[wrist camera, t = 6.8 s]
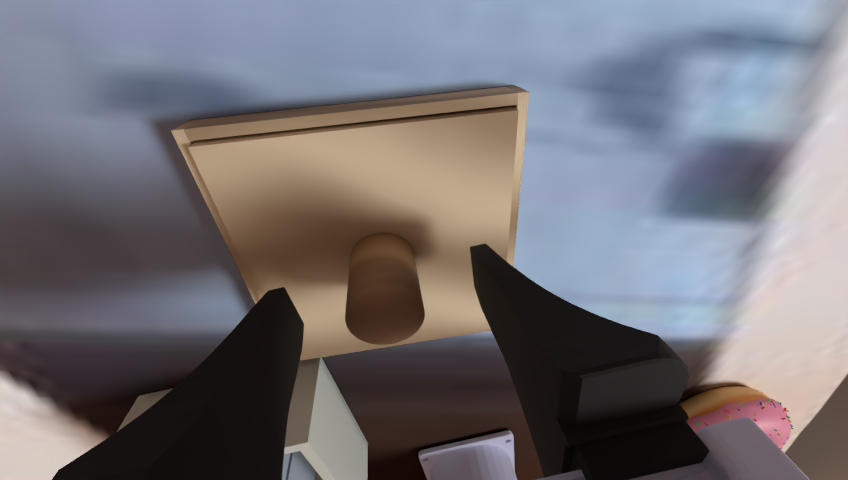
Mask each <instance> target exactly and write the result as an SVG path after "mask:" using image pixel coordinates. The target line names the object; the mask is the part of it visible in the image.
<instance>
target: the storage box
mask: <svg viewBox="0 0 848 480" xmlns="http://www.w3.org/2000/svg"><path fill="white" fill-rule="evenodd" d="M172 389H173V388H172ZM172 389H168V390H163V391H158V392H154V393H149V394H145V395H140V396H138V398H137V400H136V401H135V403H134V404H133V406H132V408H131V409H130V411H129V413H128V414H127V416H126V417H125V419H124V421H123V422H122V424H121V426H120V427H119V429H118V430H117V431H119V430H120V429H122V428H123V427H124V426H126V425H127V424H129V423H130V422H131V421H133V420H134V419H135V418H137V417H138V416H139V415H141V414H142V413H143V412H145V411H146V410H147V409H149V408H150V407H151V406H152V405H154V404H155V403H156V402H157V401H159V400H160V399H161V398H162V397H163V396H165V395H166V394H167V393H168V392H170V391H171V390H172ZM297 451H301V453H302V454H303V455H304V456H305V458H306V459H307V460H308V462H309V463H310V464H311V465H312V467H313V468H314V469H315V470H316V471H315V479H314V480H367V478H368V443H367V441H366V439H365V437H364V435H363V433H362V432H361V430H360V428H359V426H358V424H357V422H356V420H355V419H354V417H353V415H352V413H351V411H350V409H349V407H348V406H347V404H346V402H345V400H344V398H343V396H342V394H341V393H340V391H339V389H338V387H337V385H336V383H335V381H334V380H333V378H332V376H331V374H330V372H329V370H328V369H327V367H326V365H325V363H324V361H323V359H322V357H319V358H313V359H307V360H300V362H299V367H298V371H297V376H296V380H295V385H294V389H293V394H292V398H291V403H290V408H289V414H288V420H287V429H286V438H285V448H284V454H289V453H293V452H297Z"/></svg>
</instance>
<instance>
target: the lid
mask: <svg viewBox="0 0 848 480" xmlns="http://www.w3.org/2000/svg"><path fill="white" fill-rule="evenodd" d="M528 99H529V91H526V90H524V89H522V88H520V87H517V86H506V87H497V88H488V89H478V90H469V91H459V92H450V93H441V94H431V95H422V96H413V97H403V98H394V99H385V100H375V101H366V102H357V103H347V104H338V105H329V106H319V107H310V108H300V109H291V110H282V111H272V112H263V113H254V114H244V115H235V116H226V117H216V118H207V119H198V120H189V121H188V122H186V123H184V124H182V125H180V126H179V127H177V128H175V129H173V130H171V132H172V134H173V136H174V138H175V140H176V142H177V144H178V146H179V148H180V150H181V152H182V154H183V156H184V158H185V160H186V162H187V165H188V167H189V169H190V171H191V173H192V175H193V177H194V179H195V181H196V183H197V185H198V187H199V189H200V191H201V193H202V195H203V197H204V199H205V202H206V204H207V206H208V208H209V210H210V212H211V214H212V216H213V218H214V220H215V222H216V224H217V226H218V228H219V230H220V232H221V234H222V236H223V239H224V241H225V243H226V245H227V247H228V249H229V251H230V253H231V255H232V257H233V259H234V261H235V263H236V265H237V267H238V269H239V271H240V273H241V276H242V278H243V280H244V282H245V284H246V286H247V288H248V290H249V292H250V294H251V296H252V298H253V300H254V302H255V304H256V303H257V302H258V301H259V300H260V299H261V298H262V297H263V296H264V294H265V293H266V292H267V291H268V290H272V289H277V288H281V287H285V289H286V291H287V293H288V295H289V296H290V298H291V300H292V302H293V304H294V306H295V308H296V310H297V311H298V313H299V315H300V317H301V319H302V321H303V323H304V334H303V346H302V352H301V357H300V360H307V359H313V358H319V357H326V356H332V355H338V354H344V353H351V352H357V351H363V350H370V349H376V348H382V347H389V346H395V345H401V344H408V343H414V342H420V341H426V340H433V339H439V338H445V337H452V336H458V335H464V334H471V333H477V332H483V331H490V330H491V328H490V326H489V324H488V322H487V320H486V318H485V316H484V313H483V311H482V309H481V306H480V303H479V300H478V297H477V294H476V291H475V288H474V281H473V271H472V262H471V253H470V247H471V246H476V245H480V244H487V245H488V246H489V247H491V248H492V249H493V250H494V251H495V252H496V253H497V254H498V255H500V256H501V257H502V258H503V259H504V260H505V261H507V262H508V263H509V264H510V265H512V266H513V263H514V252H515V241H516V230H517V219H518V208H519V197H520V187H521V176H522V165H523V154H524V143H525V132H526V121H527V110H528ZM501 106H502V107H501ZM492 107H493V108H492ZM483 108H484V109H483ZM474 109H475V110H474ZM465 110H466V111H465ZM456 111H457V112H456ZM447 112H448V113H447ZM438 113H439V114H438ZM429 114H430V115H429ZM420 115H421V116H420ZM411 116H412V117H411ZM402 117H403V118H402ZM393 118H394V119H393ZM384 119H385V120H384ZM375 120H376V121H375ZM366 121H367V122H366ZM357 122H358V123H357ZM348 123H349V124H348ZM339 124H340V125H339ZM330 125H331V126H330ZM321 126H322V127H321ZM312 127H313V128H312ZM303 128H304V129H303ZM294 129H295V130H294ZM285 130H286V131H285ZM276 131H277V132H276ZM267 132H268V133H267ZM258 133H259V134H258ZM249 134H250V135H249ZM240 135H241V136H240ZM231 136H232V137H231ZM222 137H223V138H222ZM213 138H214V139H213Z"/></svg>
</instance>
